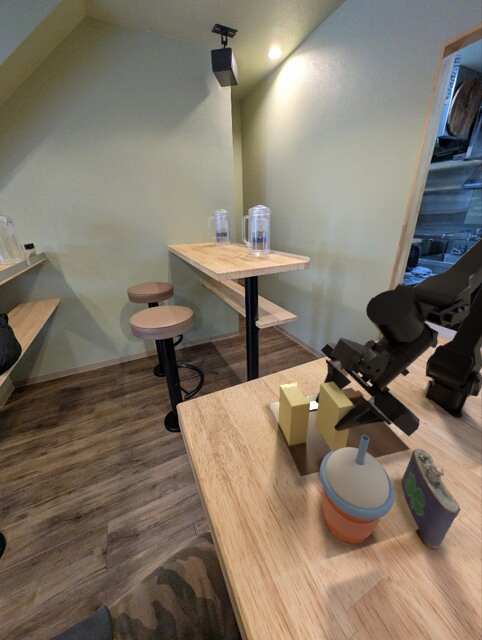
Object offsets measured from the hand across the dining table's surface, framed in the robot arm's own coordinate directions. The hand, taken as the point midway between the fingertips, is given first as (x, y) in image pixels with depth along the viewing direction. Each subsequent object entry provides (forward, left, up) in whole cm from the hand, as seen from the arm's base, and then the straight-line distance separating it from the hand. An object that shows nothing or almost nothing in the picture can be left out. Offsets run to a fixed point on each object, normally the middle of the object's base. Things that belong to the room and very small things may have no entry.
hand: (325, 414), depth 43 cm
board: (0, -8, -11) cm, 13 cm away
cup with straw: (-6, +9, -11) cm, 15 cm away
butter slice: (-1, -1, -6) cm, 6 cm away
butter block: (+6, -1, -9) cm, 11 cm away
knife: (+2, -14, -9) cm, 17 cm away
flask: (-15, +2, -11) cm, 19 cm away
